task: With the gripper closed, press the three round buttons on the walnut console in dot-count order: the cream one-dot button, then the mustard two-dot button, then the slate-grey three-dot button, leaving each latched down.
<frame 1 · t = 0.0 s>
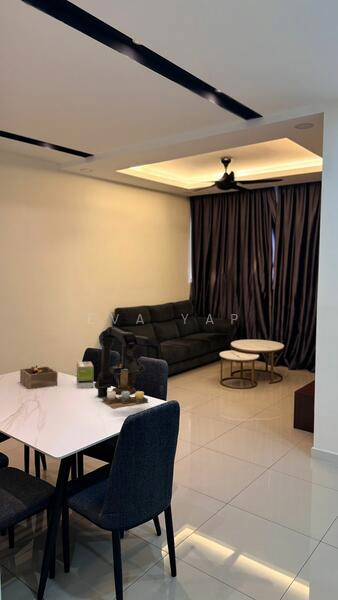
hand: (126, 384, 226), 15 cm above the table, fingers open, 9 cm apart
mustard button: (139, 395, 240), point 5 cm above the table, slide at 0.0 cm
slate button: (125, 395, 239), point 5 cm above the table, slide at 0.0 cm
cream button: (111, 395, 238), point 5 cm above the table, slide at 0.0 cm
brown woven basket: (124, 394, 261), on the table
console: (124, 404, 239), on the table
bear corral: (38, 383, 277), on the table
tea box: (84, 385, 277), on the table
bear figurine: (38, 384, 277), resting in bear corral
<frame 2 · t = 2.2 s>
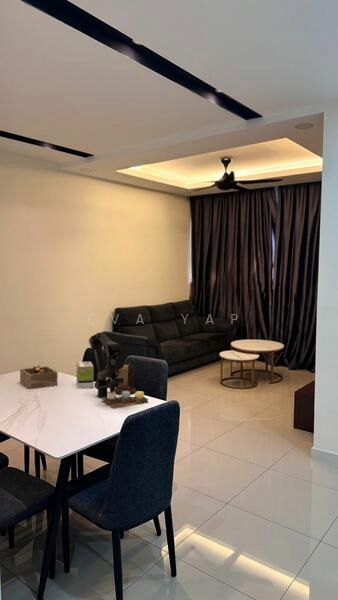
hand: (111, 392, 238), 7 cm above the table, fingers closed, pressing on cream button
cream button: (111, 395, 238), point 5 cm above the table, slide at 0.3 cm, touching gripper
bear figurine: (40, 384, 278), resting in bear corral
everything else where it was.
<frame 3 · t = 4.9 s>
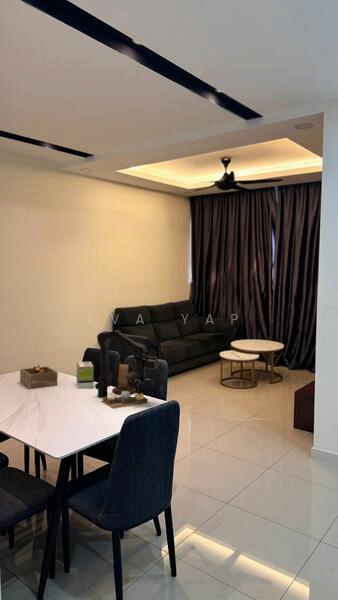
hand: (139, 394, 240), 6 cm above the table, fingers closed, pressing on mustard button
mustard button: (139, 397, 240), point 4 cm above the table, slide at 1.0 cm, touching gripper
cream button: (111, 397, 238), point 3 cm above the table, slide at 1.4 cm
everything else where it was.
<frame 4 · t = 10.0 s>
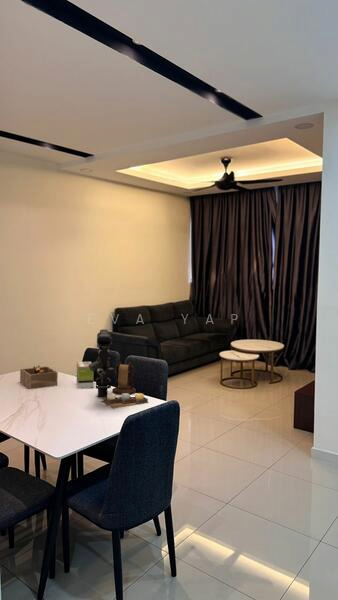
hand: (103, 383, 236), 12 cm above the table, fingers closed
mustard button: (139, 397, 240), point 4 cm above the table, slide at 1.2 cm
slate button: (125, 397, 239), point 4 cm above the table, slide at 1.2 cm
everything else where it was.
at the end: cream button slide at 1.4 cm; mustard button slide at 1.2 cm; slate button slide at 1.2 cm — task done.
